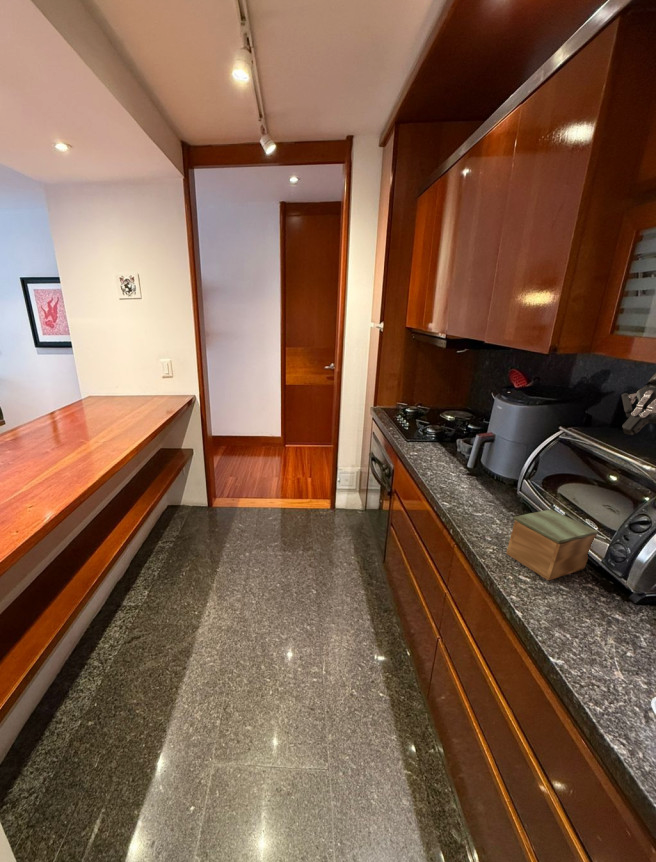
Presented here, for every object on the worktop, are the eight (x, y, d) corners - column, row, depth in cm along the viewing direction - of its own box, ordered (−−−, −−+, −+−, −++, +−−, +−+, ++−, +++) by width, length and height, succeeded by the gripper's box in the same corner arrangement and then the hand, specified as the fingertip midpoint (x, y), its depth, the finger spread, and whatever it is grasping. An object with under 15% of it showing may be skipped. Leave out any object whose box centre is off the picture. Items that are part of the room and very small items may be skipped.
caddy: (548, 581, 92) (560, 544, 88) (505, 554, 102) (514, 520, 98) (584, 569, 96) (597, 534, 92) (539, 544, 106) (549, 511, 102)
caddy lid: (558, 543, 88) (559, 540, 87) (513, 519, 98) (513, 516, 97) (597, 533, 92) (598, 531, 92) (549, 511, 102) (550, 509, 102)
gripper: (721, 390, 84) (665, 450, 85) (648, 380, 95) (599, 433, 96) (717, 367, 80) (659, 430, 81) (642, 359, 92) (592, 415, 92)
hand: (627, 432), depth 89 cm, fingers closed
